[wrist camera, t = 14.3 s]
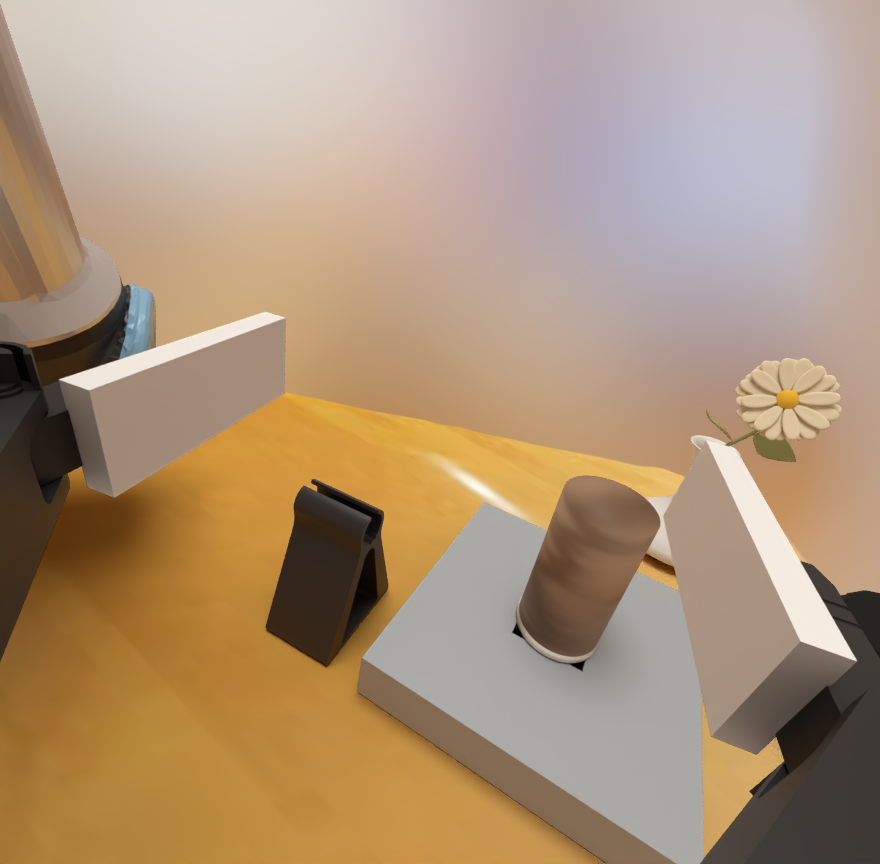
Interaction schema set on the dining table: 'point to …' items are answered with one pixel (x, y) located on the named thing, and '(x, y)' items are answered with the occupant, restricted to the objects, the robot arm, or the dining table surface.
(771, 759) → the dining table surface
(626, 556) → the walnut peg
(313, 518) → the phone stand
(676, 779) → the slate board
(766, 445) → the flower in vase
